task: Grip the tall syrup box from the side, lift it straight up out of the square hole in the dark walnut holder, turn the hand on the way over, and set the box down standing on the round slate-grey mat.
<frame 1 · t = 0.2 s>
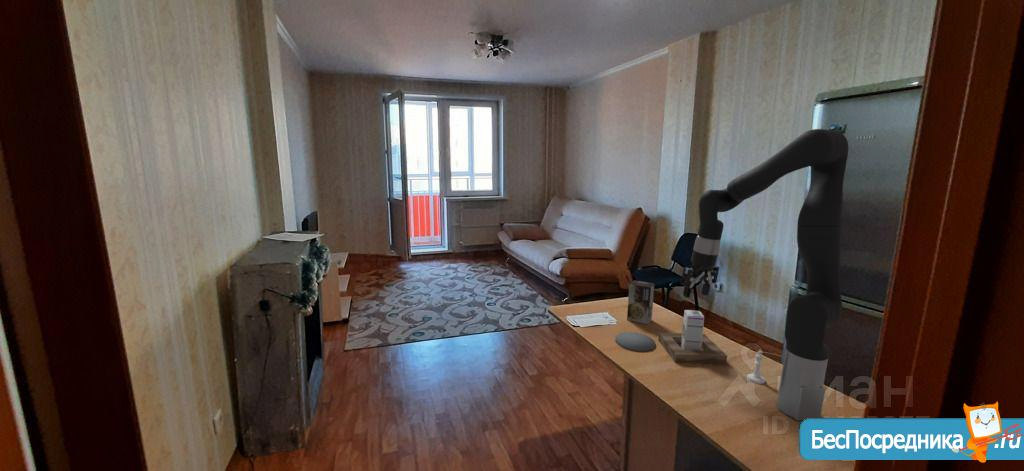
hand: (695, 295, 139), 22 cm above the table, tool pointing down, fingers open, 8 cm apart
coffee box: (639, 320, 173), on the table
chess piece: (755, 380, 128), on the table
slate mat: (634, 342, 152), on the table
walnut holder: (690, 351, 146), on the table
syrup box: (690, 352, 146), resting in walnut holder
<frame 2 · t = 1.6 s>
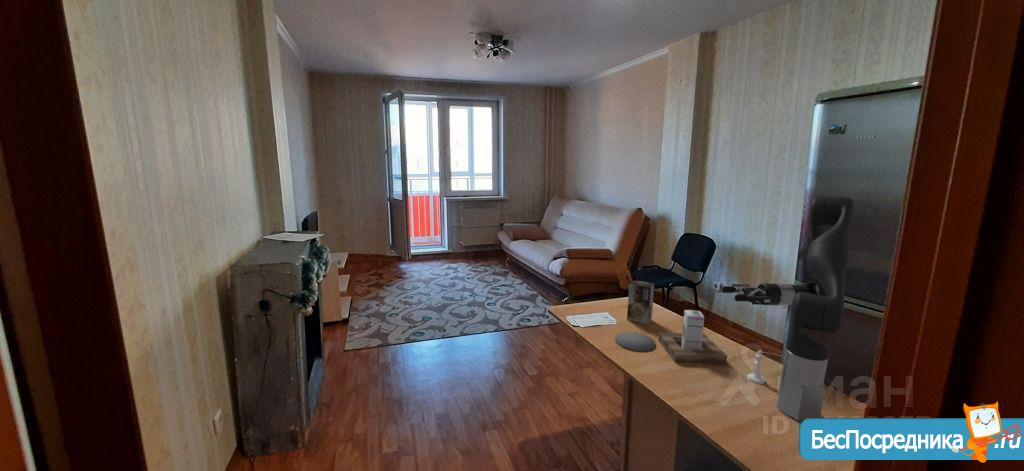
hand: (728, 293, 141), 22 cm above the table, tool horizontal, fingers open, 8 cm apart
nothing on the table moved.
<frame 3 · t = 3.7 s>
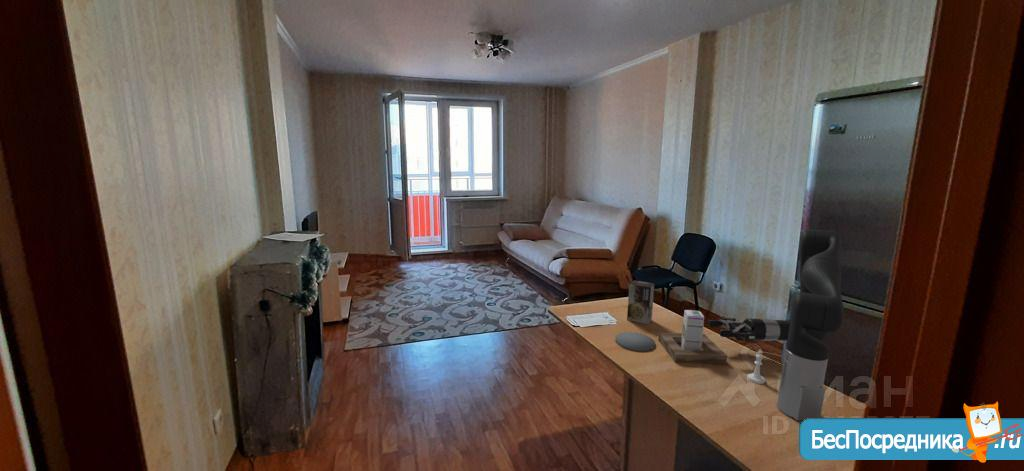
hand: (714, 328, 144), 9 cm above the table, tool horizontal, fingers open, 8 cm apart
nothing on the table moved.
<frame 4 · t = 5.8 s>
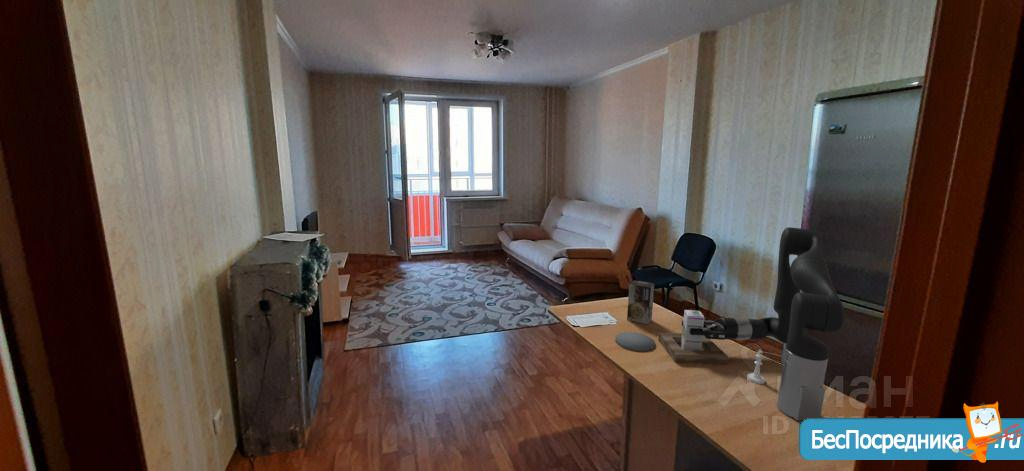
hand: (686, 327, 144), 9 cm above the table, tool horizontal, fingers closed on syrup box, 6 cm apart
syrup box: (690, 351, 146), resting in walnut holder, touching gripper
everything else where it was.
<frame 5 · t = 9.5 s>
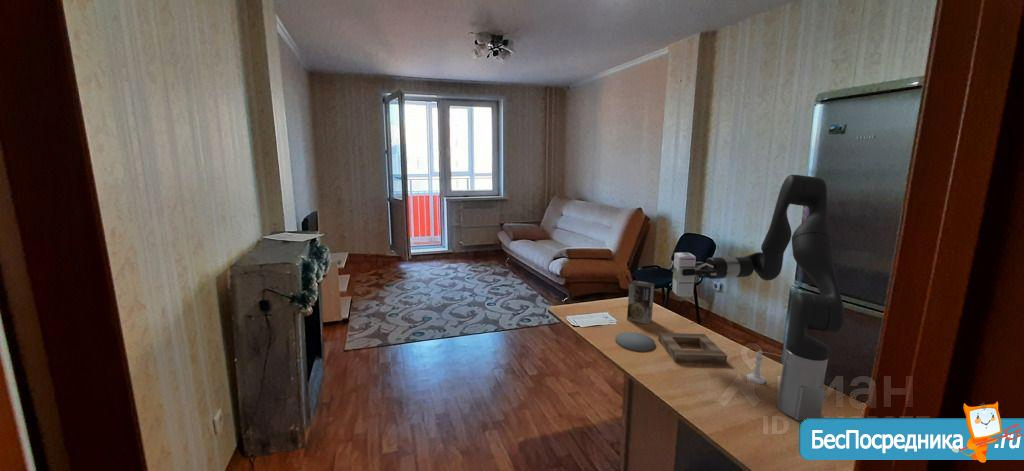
hand: (677, 269, 143), 29 cm above the table, tool horizontal, fingers closed on syrup box, 6 cm apart
syrup box: (682, 294, 145), point 20 cm above the table, touching gripper
everything else where it was.
when the fingers open (11 cm above the table, at t = 13.4 s): syrup box drops 1 cm, resting on slate mat.
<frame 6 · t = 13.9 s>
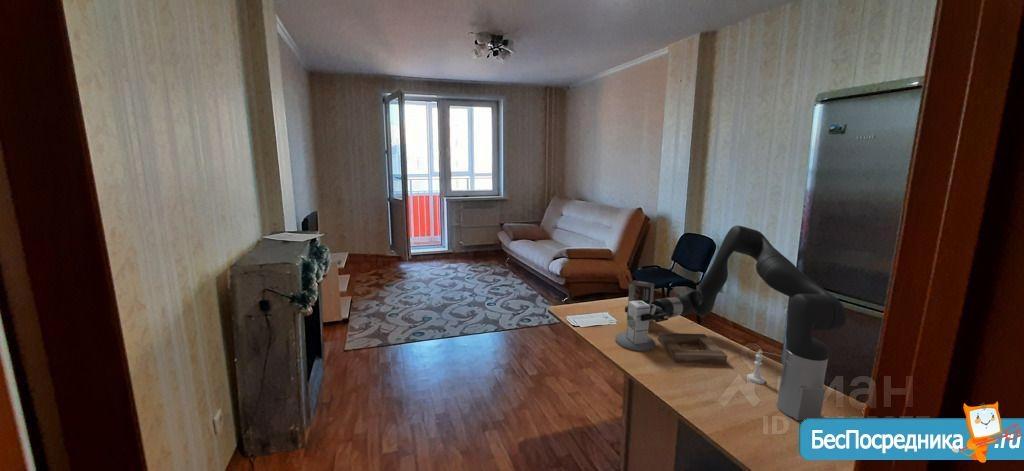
hand: (633, 313, 149), 12 cm above the table, tool horizontal, fingers open, 8 cm apart
syrup box: (636, 340, 151), point 1 cm above the table, touching slate mat
everything else where it was.
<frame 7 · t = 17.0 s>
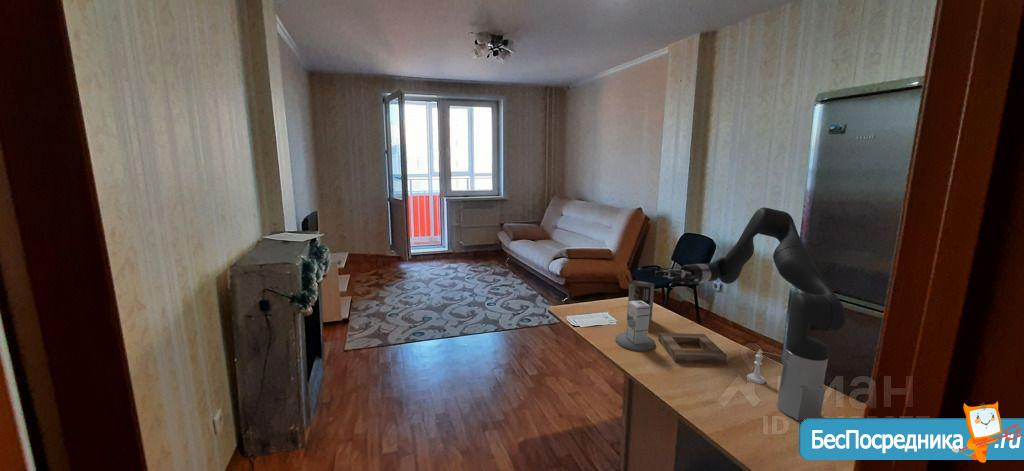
hand: (663, 277, 152), 24 cm above the table, tool horizontal, fingers open, 8 cm apart
nothing on the table moved.
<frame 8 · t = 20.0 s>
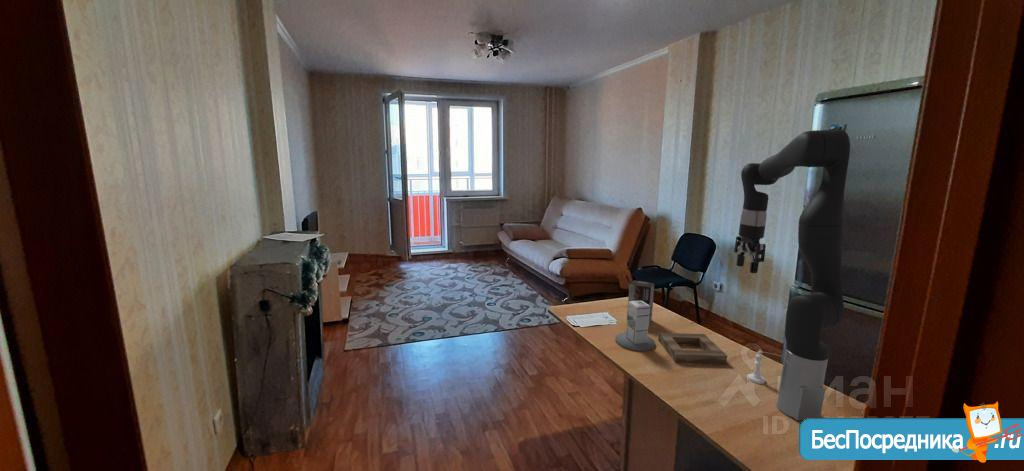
hand: (746, 269, 142), 30 cm above the table, tool pointing down, fingers open, 8 cm apart
nothing on the table moved.
at the end: syrup box inside the target area on the slate mat (0.5 cm from its centre), point 0.8 cm above the slate mat's base; syrup box tilted 0°; the gripper is holding nothing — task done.
